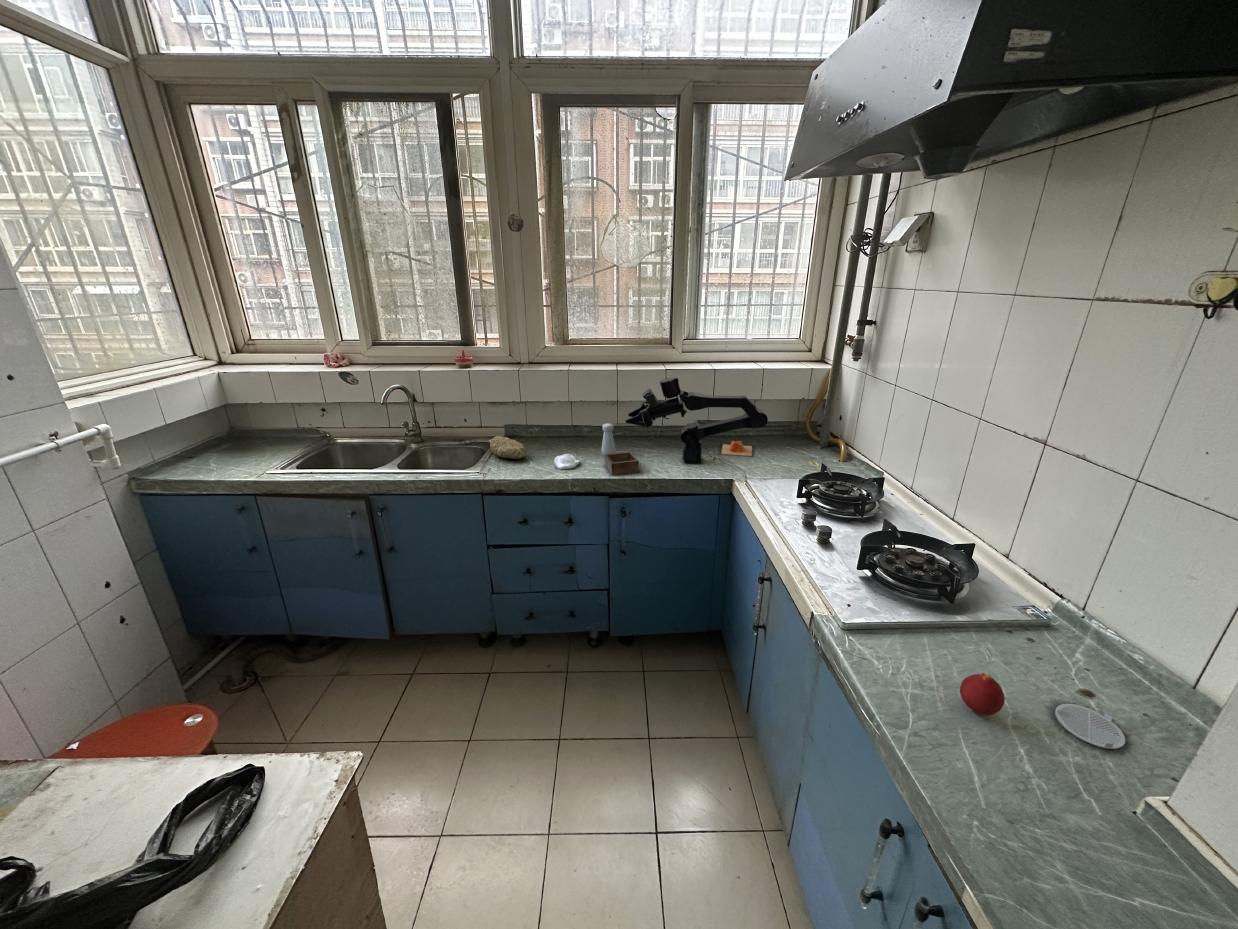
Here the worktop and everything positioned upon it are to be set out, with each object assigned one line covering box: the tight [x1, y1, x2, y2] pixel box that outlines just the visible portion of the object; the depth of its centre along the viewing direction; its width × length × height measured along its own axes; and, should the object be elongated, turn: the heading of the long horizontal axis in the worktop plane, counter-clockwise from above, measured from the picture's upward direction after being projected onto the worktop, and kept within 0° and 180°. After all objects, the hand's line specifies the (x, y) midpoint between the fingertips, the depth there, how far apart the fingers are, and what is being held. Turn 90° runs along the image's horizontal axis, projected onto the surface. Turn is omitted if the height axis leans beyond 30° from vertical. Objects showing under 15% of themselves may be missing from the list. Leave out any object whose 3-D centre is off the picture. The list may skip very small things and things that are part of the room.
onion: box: [959, 672, 1006, 716], centre depth 81 cm, size 6×6×8 cm
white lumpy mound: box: [554, 453, 581, 470], centre depth 189 cm, size 10×4×10 cm
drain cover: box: [1054, 703, 1126, 750], centre depth 79 cm, size 8×8×1 cm
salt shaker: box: [601, 422, 617, 457], centre depth 197 cm, size 6×6×13 cm
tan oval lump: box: [489, 435, 527, 460], centre depth 199 cm, size 13×8×20 cm
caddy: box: [604, 451, 640, 476], centre depth 185 cm, size 10×10×5 cm
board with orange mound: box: [720, 440, 753, 457], centre depth 203 cm, size 12×12×4 cm
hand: (627, 418), depth 190 cm, fingers open, 9 cm apart
